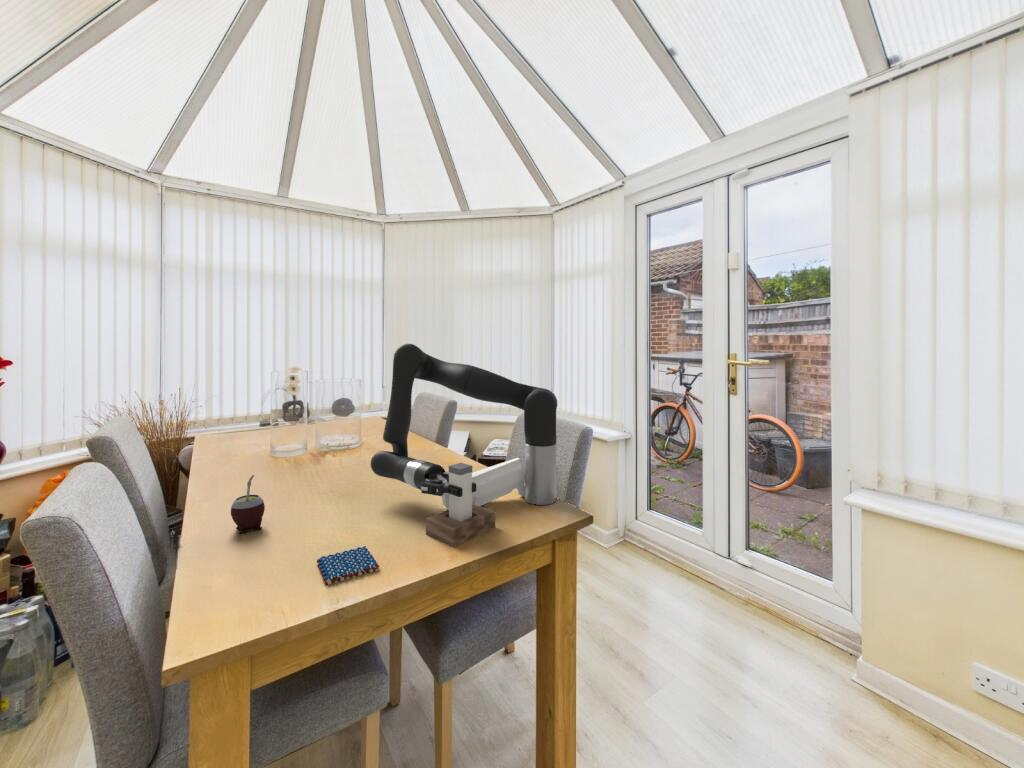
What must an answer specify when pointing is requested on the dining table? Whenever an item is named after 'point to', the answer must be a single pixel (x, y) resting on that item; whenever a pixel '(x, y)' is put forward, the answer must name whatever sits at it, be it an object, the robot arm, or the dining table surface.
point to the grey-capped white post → (463, 505)
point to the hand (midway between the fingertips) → (468, 490)
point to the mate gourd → (248, 511)
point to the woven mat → (346, 564)
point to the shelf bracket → (495, 482)
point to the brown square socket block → (460, 526)
